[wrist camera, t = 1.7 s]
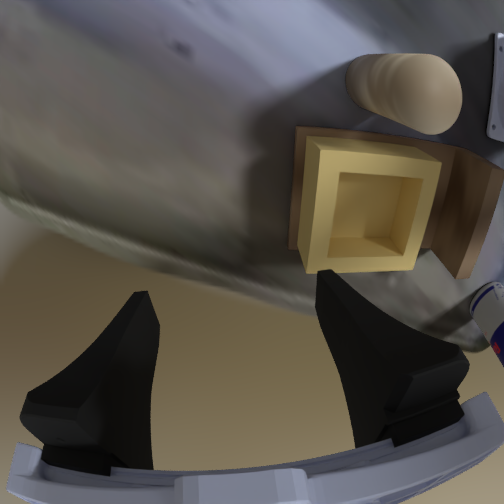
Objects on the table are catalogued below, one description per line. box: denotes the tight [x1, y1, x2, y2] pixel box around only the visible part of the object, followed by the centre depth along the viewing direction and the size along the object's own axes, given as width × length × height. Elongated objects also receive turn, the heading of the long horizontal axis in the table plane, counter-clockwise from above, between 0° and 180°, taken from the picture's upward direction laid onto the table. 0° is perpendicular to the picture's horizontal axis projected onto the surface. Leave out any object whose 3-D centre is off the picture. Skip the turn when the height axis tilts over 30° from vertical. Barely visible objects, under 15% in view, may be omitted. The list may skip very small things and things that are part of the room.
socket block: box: [297, 136, 442, 274], centre depth 19 cm, size 8×8×4 cm
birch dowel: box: [345, 54, 462, 135], centre depth 14 cm, size 4×4×7 cm
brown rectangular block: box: [287, 126, 504, 279], centre depth 19 cm, size 9×14×5 cm, turn 89°
